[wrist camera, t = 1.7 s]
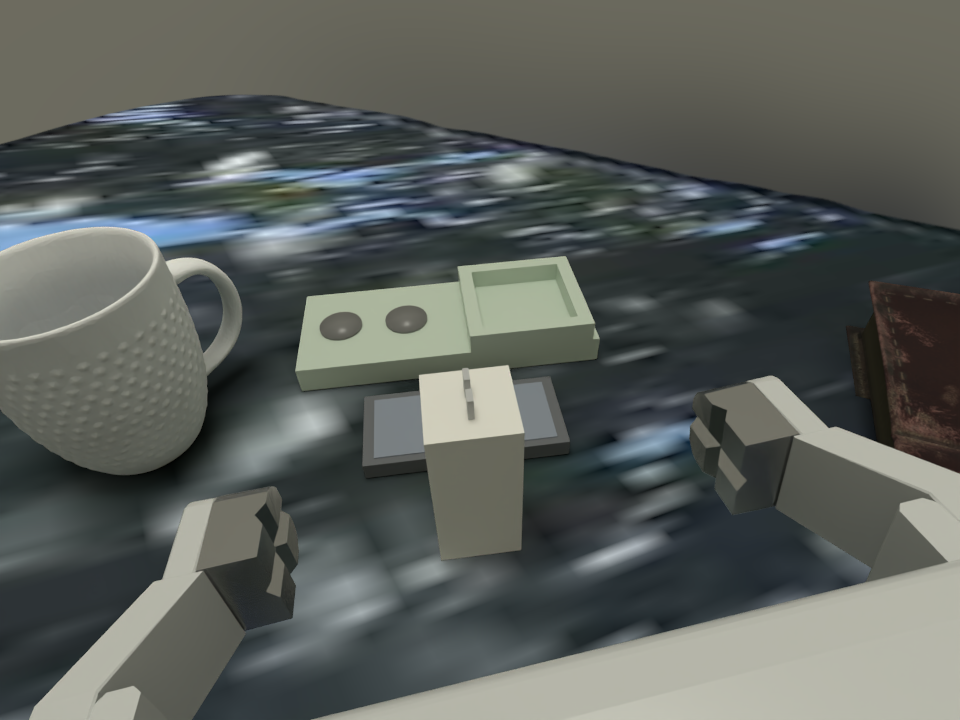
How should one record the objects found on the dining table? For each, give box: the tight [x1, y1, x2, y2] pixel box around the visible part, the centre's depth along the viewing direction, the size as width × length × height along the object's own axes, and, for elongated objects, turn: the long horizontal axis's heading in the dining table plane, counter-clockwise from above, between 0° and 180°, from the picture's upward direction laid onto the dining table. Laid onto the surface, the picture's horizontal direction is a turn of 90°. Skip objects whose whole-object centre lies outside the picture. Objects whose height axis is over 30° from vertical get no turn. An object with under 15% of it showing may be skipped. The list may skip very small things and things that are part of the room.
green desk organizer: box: [295, 256, 600, 391], centre depth 46 cm, size 22×9×4 cm, turn 97°
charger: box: [419, 365, 525, 561], centre depth 31 cm, size 4×4×11 cm
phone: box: [362, 376, 570, 478], centre depth 39 cm, size 13×6×1 cm, turn 97°
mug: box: [0, 227, 242, 475], centre depth 37 cm, size 15×11×13 cm
